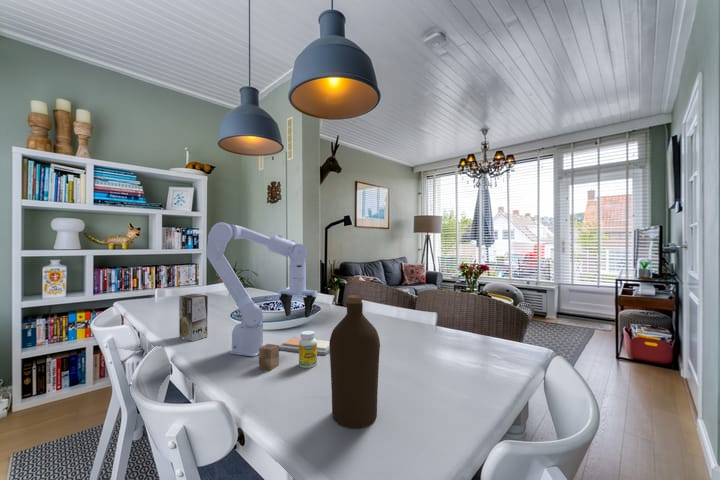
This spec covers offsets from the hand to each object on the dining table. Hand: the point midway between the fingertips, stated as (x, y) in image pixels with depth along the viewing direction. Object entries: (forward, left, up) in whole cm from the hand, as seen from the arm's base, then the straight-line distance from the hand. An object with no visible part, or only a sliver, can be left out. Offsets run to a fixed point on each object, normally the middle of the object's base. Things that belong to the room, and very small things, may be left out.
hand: (297, 316), depth 108 cm
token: (+1, -19, -11) cm, 22 cm away
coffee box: (-43, -4, -11) cm, 44 cm away
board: (+4, 0, -10) cm, 11 cm away
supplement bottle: (+11, -14, -11) cm, 21 cm away
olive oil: (+33, -35, -11) cm, 50 cm away
